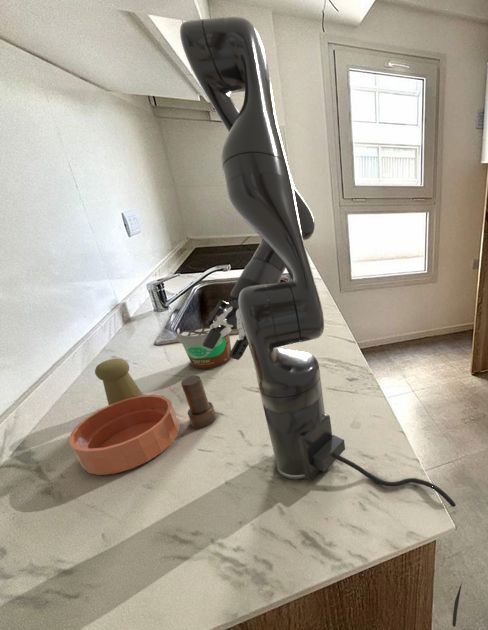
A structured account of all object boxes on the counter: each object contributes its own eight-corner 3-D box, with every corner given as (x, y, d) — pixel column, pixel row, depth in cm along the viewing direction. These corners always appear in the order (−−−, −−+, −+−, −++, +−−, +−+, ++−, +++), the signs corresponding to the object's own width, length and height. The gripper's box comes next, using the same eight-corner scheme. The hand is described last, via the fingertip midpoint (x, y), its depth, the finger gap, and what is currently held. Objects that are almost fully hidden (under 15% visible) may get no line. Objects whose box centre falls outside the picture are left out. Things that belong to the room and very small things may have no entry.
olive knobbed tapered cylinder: (104, 408, 71) (83, 365, 66) (137, 392, 76) (119, 351, 71) (118, 418, 68) (97, 373, 64) (151, 401, 73) (134, 359, 68)
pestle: (221, 417, 69) (209, 377, 65) (199, 430, 65) (185, 390, 61) (208, 410, 71) (195, 371, 67) (186, 423, 67) (172, 382, 63)
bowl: (196, 433, 65) (187, 409, 62) (106, 490, 53) (92, 464, 51) (156, 409, 71) (147, 386, 68) (68, 456, 59) (53, 431, 57)
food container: (178, 374, 82) (165, 339, 78) (186, 361, 88) (175, 328, 83) (232, 368, 85) (223, 334, 81) (237, 355, 91) (229, 323, 86)
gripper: (222, 270, 72) (182, 339, 68) (267, 281, 66) (227, 357, 62) (249, 286, 79) (214, 349, 74) (292, 297, 73) (257, 367, 68)
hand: (220, 353), depth 68 cm, fingers open, 8 cm apart
